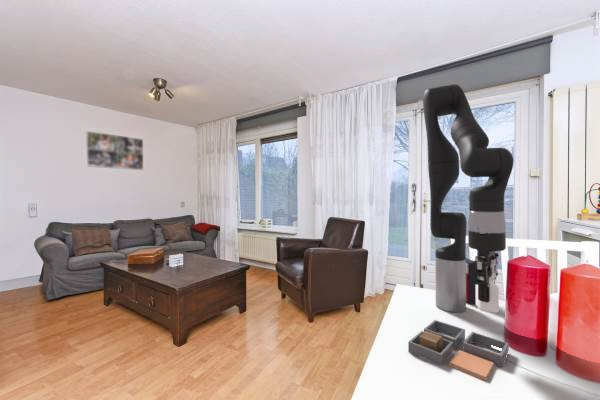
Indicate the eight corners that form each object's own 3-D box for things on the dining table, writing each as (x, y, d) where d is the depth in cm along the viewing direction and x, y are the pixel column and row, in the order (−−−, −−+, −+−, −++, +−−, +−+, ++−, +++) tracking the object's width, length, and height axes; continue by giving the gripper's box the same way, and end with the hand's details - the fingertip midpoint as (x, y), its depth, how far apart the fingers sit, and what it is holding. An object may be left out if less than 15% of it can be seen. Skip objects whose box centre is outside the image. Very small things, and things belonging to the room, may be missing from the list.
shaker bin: (472, 340, 71) (472, 331, 71) (508, 353, 65) (508, 343, 65) (462, 352, 66) (462, 342, 66) (501, 367, 60) (501, 356, 60)
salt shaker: (499, 313, 63) (499, 274, 63) (480, 312, 64) (480, 273, 64) (492, 306, 67) (492, 269, 67) (474, 305, 68) (474, 268, 68)
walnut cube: (425, 346, 69) (425, 330, 69) (442, 352, 66) (442, 336, 66) (419, 352, 66) (419, 336, 66) (436, 359, 64) (436, 342, 63)
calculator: (450, 293, 106) (450, 256, 106) (461, 293, 106) (461, 256, 106) (467, 304, 95) (467, 263, 95) (479, 304, 95) (479, 262, 95)
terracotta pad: (459, 353, 66) (459, 350, 66) (493, 366, 60) (493, 362, 60) (449, 365, 61) (449, 362, 61) (485, 380, 56) (485, 377, 56)
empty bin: (435, 328, 78) (434, 319, 78) (465, 338, 72) (465, 329, 72) (423, 338, 73) (423, 329, 73) (455, 349, 67) (455, 339, 67)
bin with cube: (421, 340, 72) (421, 330, 72) (453, 352, 66) (453, 342, 66) (408, 351, 67) (408, 341, 67) (441, 365, 61) (441, 355, 61)
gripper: (476, 225, 73) (476, 286, 73) (460, 231, 63) (460, 302, 63) (510, 227, 67) (511, 294, 68) (498, 234, 58) (499, 311, 58)
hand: (486, 297), depth 66 cm, fingers closed on salt shaker, 5 cm apart
